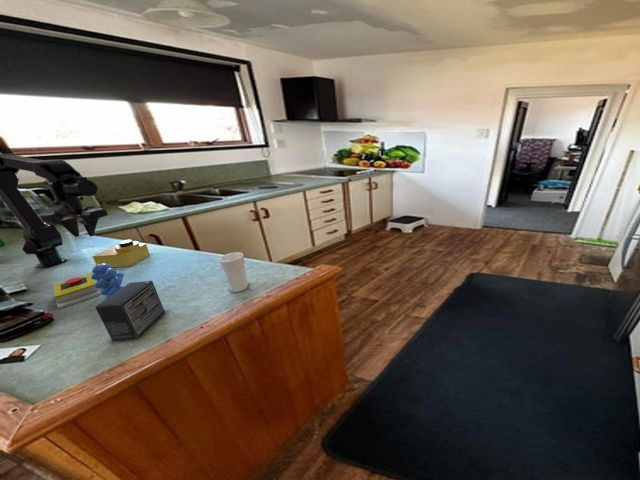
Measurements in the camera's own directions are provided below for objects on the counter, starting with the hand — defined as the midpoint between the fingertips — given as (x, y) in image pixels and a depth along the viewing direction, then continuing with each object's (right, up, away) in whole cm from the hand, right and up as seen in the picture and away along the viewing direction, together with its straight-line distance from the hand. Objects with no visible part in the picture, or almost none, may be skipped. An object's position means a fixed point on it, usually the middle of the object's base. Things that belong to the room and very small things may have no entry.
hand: (84, 236), depth 102 cm
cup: (+67, -16, -15) cm, 70 cm away
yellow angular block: (+10, -10, +6) cm, 15 cm away
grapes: (+30, -18, -17) cm, 39 cm away
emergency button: (+15, -18, -15) cm, 27 cm away
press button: (+12, -4, +4) cm, 14 cm away
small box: (+49, -22, -31) cm, 62 cm away
